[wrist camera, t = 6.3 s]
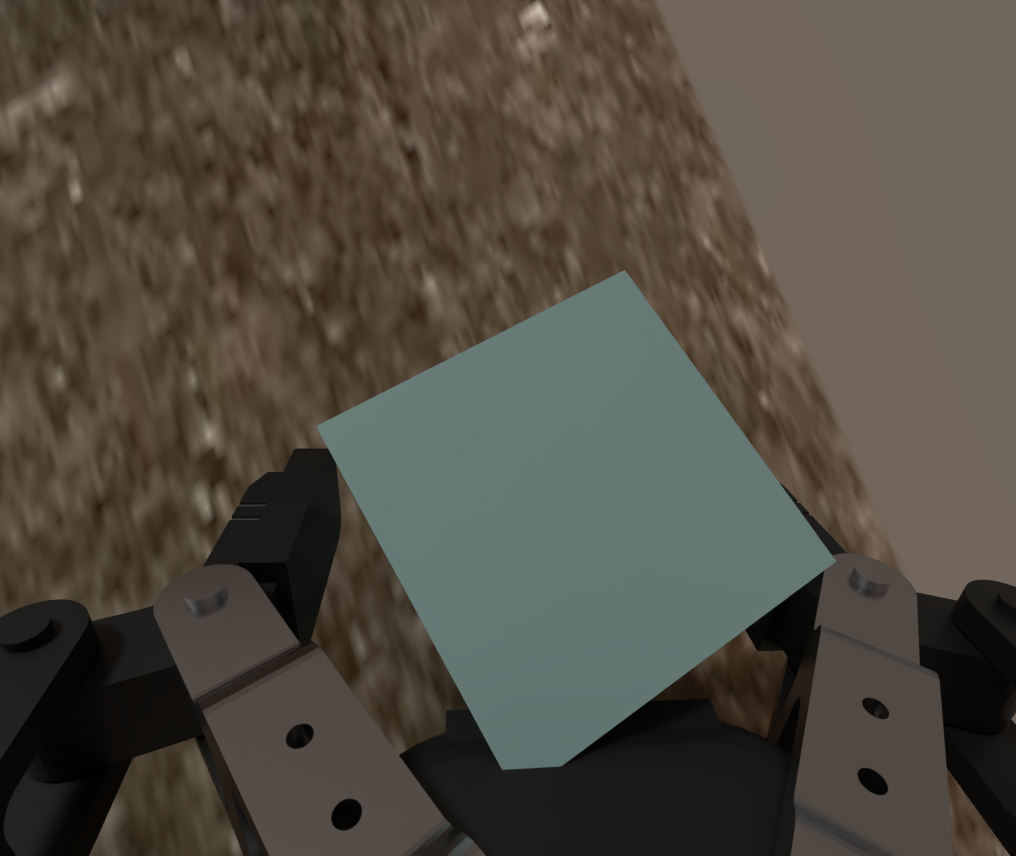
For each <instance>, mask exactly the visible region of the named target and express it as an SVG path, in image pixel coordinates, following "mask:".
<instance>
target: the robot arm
mask: <svg viewBox="0 0 1016 856" xmlns="http://www.w3.org/2000/svg"><path fill="white" fill-rule="evenodd" d="M780 485H781V486H782V487H783V489H784V490H785V491H786V493H787V494H788V496H789V497H790V498H791V500H792V501H793V502H794V504H795V505H796V507H797V508H798V509H799V511H800V512H801V513H802V515H803V516H804V518H805V519H806V520H807V522H808V523H809V524H810V526H811V527H812V529H813V530H814V531H815V533H816V534H817V535H818V537H819V538H820V540H821V541H822V542H823V544H824V545H825V546H826V548H827V549H828V551H829V552H830V553H831V555H832V556H833V557H834V559H835V560H836V562H835V563H834V564H832V565H831V566H829V567H828V568H827V569H825V570H824V571H823V572H821V573H820V574H819V575H817V576H816V577H815V578H813V579H812V580H811V581H809V582H808V583H807V584H805V585H804V586H803V587H801V588H800V589H799V590H797V591H796V592H795V593H793V594H792V595H791V596H789V597H788V598H787V599H785V600H784V601H783V602H781V603H780V604H778V605H777V606H776V607H774V608H773V609H772V610H770V611H769V612H768V613H766V614H765V615H764V616H762V617H761V618H760V619H758V620H757V621H756V622H754V623H753V624H752V625H750V626H749V627H748V628H746V629H745V630H746V632H747V634H748V635H749V637H750V639H751V641H752V642H753V644H754V646H755V647H756V649H757V651H778V650H783V651H784V652H785V654H786V655H787V659H786V662H785V664H784V667H783V669H782V673H781V677H780V682H779V686H778V691H777V695H776V699H775V704H774V708H773V713H772V717H771V721H770V726H769V730H768V735H767V739H765V738H764V737H762V736H760V735H758V734H755V733H753V732H751V731H748V730H746V729H743V728H741V727H737V726H734V725H731V724H728V723H724V722H720V721H719V720H718V717H717V715H716V713H715V711H714V709H713V706H712V704H711V702H710V700H709V699H691V700H669V701H648V702H647V703H646V704H644V705H643V706H642V707H640V708H639V709H638V710H636V711H635V712H634V713H632V714H631V715H630V716H628V717H627V718H625V719H624V720H623V721H621V722H620V723H619V724H617V725H616V726H615V727H613V728H612V729H611V730H609V731H608V732H607V733H605V734H604V735H603V736H601V737H600V738H599V739H597V740H596V741H595V742H593V743H592V744H591V745H589V746H588V747H587V748H585V749H584V750H583V751H581V752H580V753H579V754H577V755H576V756H574V757H573V758H572V759H570V760H569V761H568V762H566V763H565V764H564V765H562V766H560V767H542V768H525V769H507V770H502V769H501V767H500V765H499V763H498V761H497V760H496V758H495V756H494V754H493V752H492V750H491V748H490V747H489V745H488V743H487V741H486V739H485V737H484V735H483V734H482V732H481V730H480V728H479V726H478V724H477V723H476V721H475V719H474V717H473V715H472V713H471V711H470V710H469V709H468V710H447V712H446V733H444V734H441V735H438V736H435V737H432V738H430V739H427V740H425V741H423V742H421V743H419V744H417V745H415V746H413V747H412V748H410V749H408V750H407V751H405V752H403V753H402V754H400V755H398V754H397V752H396V751H395V750H394V748H393V747H392V745H391V744H390V743H389V741H388V740H387V739H386V737H385V736H384V734H383V733H382V732H381V730H380V729H379V728H378V726H377V725H376V724H375V722H374V721H373V719H372V718H371V717H370V715H369V714H368V713H367V711H366V710H365V709H364V707H363V706H362V704H361V703H360V702H359V700H358V699H357V698H356V696H355V695H354V693H353V692H352V691H351V689H350V688H349V687H348V685H347V684H346V683H345V681H344V680H343V678H342V677H341V676H340V674H339V673H338V672H337V670H336V669H335V667H334V666H333V665H332V663H331V662H330V661H329V659H328V658H327V657H326V655H325V654H324V652H323V651H322V650H321V649H320V647H319V646H318V645H317V644H316V643H314V642H313V641H311V637H312V634H313V630H314V627H315V623H316V619H317V616H318V612H319V609H320V605H321V601H322V598H323V594H324V591H325V587H326V584H327V580H328V576H329V573H330V569H331V566H332V562H333V558H334V555H335V551H336V548H337V544H338V540H339V536H340V528H341V507H340V498H339V488H338V478H337V469H336V462H335V460H334V458H333V456H332V455H331V453H330V451H329V449H295V450H294V451H293V453H292V455H291V457H290V459H289V461H288V463H287V465H286V467H285V469H284V471H283V472H267V473H266V474H265V475H263V476H262V477H261V478H259V479H258V480H257V481H255V482H254V483H253V484H252V485H250V486H249V487H248V489H247V491H246V493H245V494H244V496H243V498H242V500H241V501H240V506H238V507H237V508H236V510H235V512H234V514H233V515H232V520H229V522H228V524H227V526H226V527H225V529H224V531H223V533H222V534H221V536H220V538H219V540H218V541H217V543H216V545H215V547H214V548H213V550H212V552H211V554H210V555H209V557H208V559H207V561H206V562H205V564H204V566H203V567H201V568H198V569H195V570H192V571H190V572H188V573H186V574H183V575H182V576H180V577H178V578H177V579H175V580H174V581H172V582H171V583H170V584H168V585H167V586H166V587H165V588H164V589H163V590H162V591H161V593H160V594H159V595H158V597H157V599H156V601H155V604H154V605H153V606H150V607H147V608H144V609H140V610H137V611H132V612H128V613H124V614H120V615H116V616H112V617H108V618H104V619H99V620H95V621H91V618H90V616H89V613H88V611H87V609H86V608H85V607H84V606H83V605H82V604H80V603H78V602H75V601H72V600H48V601H43V602H38V603H34V604H31V605H27V606H24V607H22V608H19V609H17V610H14V611H12V612H10V613H8V614H6V615H4V616H2V617H0V856H89V855H90V853H91V850H92V848H93V846H94V844H95V841H96V839H97V837H98V835H99V832H100V830H101V828H102V826H103V824H104V821H105V819H106V817H107V815H108V812H109V810H110V808H111V806H112V803H113V801H114V799H115V797H116V794H117V792H118V790H119V788H120V785H121V783H122V781H123V779H124V776H125V774H126V772H127V770H128V767H129V765H130V763H131V761H132V759H133V758H134V757H137V756H140V755H143V754H146V753H149V752H152V751H155V750H158V749H161V748H164V747H167V746H170V745H173V744H176V743H179V742H182V741H185V740H188V739H191V738H195V741H196V743H197V745H198V748H199V750H200V752H201V755H202V757H203V759H204V762H205V764H206V766H207V769H208V771H209V773H210V776H211V778H212V780H213V783H214V785H215V787H216V789H217V792H218V794H219V796H220V799H221V801H222V803H223V806H224V808H225V810H226V813H227V815H228V817H229V820H230V822H231V824H232V827H233V829H234V832H235V834H236V837H237V839H238V842H239V845H240V847H241V850H242V853H243V856H954V855H953V842H952V830H951V817H950V805H949V792H948V780H947V769H948V770H949V771H950V773H951V774H952V776H953V777H954V778H955V780H956V781H957V783H958V784H959V785H960V787H961V788H962V790H963V791H964V792H965V794H966V795H967V796H968V798H969V799H970V801H971V802H972V803H973V805H974V806H975V808H976V809H977V810H978V812H979V813H980V814H981V816H982V817H983V819H984V820H985V821H986V823H987V824H988V826H989V827H990V828H991V830H992V831H993V833H994V834H995V835H996V837H997V838H998V839H999V841H1000V842H1001V844H1002V845H1003V846H1004V848H1005V849H1006V851H1007V852H1008V853H1009V855H1010V856H1016V724H1015V723H1014V722H1013V721H1012V720H1011V719H1012V717H1013V716H1014V715H1015V713H1016V587H1014V586H1011V585H1008V584H1005V583H1001V582H997V581H991V580H976V581H972V582H970V583H968V584H967V585H966V587H965V589H964V590H963V592H962V594H961V596H960V598H959V599H958V601H956V600H951V599H946V598H941V597H936V596H932V595H927V594H922V593H917V592H916V591H915V589H914V587H913V586H912V585H911V583H910V582H909V581H908V580H907V579H906V578H905V577H904V576H903V575H901V574H900V573H899V572H897V571H896V570H895V569H893V568H891V567H890V566H888V565H886V564H884V563H882V562H880V561H877V560H875V559H872V558H869V557H866V556H862V555H858V554H850V553H846V552H845V551H844V549H843V548H842V547H841V546H840V545H839V544H838V543H837V542H836V541H835V540H834V539H833V538H832V537H831V536H830V535H829V533H828V532H827V531H826V530H825V529H824V528H823V527H822V526H821V525H820V524H819V523H818V522H817V521H816V520H815V519H814V517H813V516H809V512H808V511H807V510H806V509H805V508H804V507H803V506H802V505H801V504H800V503H797V499H796V498H795V497H794V496H793V495H792V494H791V493H790V492H789V491H788V490H787V489H786V488H785V487H784V486H783V485H782V484H780Z"/></svg>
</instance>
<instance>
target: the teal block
mask: <svg viewBox="0 0 1016 856" xmlns="http://www.w3.org/2000/svg"><path fill="white" fill-rule="evenodd" d="M316 427H317V429H318V431H319V432H320V434H321V436H322V438H323V440H324V442H325V443H326V445H327V447H328V449H329V451H330V453H331V455H332V456H333V458H334V460H335V462H336V464H337V466H338V468H339V469H340V471H341V473H342V475H343V477H344V479H345V480H346V482H347V484H348V486H349V488H350V490H351V492H352V493H353V495H354V497H355V499H356V501H357V503H358V504H359V506H360V508H361V510H362V512H363V514H364V516H365V517H366V519H367V521H368V523H369V525H370V527H371V528H372V530H373V532H374V534H375V536H376V538H377V540H378V541H379V543H380V545H381V547H382V549H383V551H384V553H385V554H386V556H387V558H388V560H389V562H390V564H391V565H392V567H393V569H394V571H395V573H396V575H397V577H398V578H399V580H400V582H401V584H402V586H403V588H404V589H405V591H406V593H407V595H408V597H409V599H410V601H411V602H412V604H413V606H414V608H415V610H416V612H417V614H418V615H419V617H420V619H421V621H422V623H423V625H424V626H425V628H426V630H427V632H428V634H429V636H430V638H431V639H432V641H433V643H434V645H435V647H436V649H437V650H438V652H439V654H440V656H441V658H442V660H443V662H444V663H445V665H446V667H447V669H448V671H449V673H450V675H451V676H452V678H453V680H454V682H455V684H456V686H457V687H458V689H459V691H460V693H461V695H462V697H463V699H464V700H465V702H466V704H467V706H468V708H469V710H470V711H471V713H472V715H473V717H474V719H475V721H476V723H477V724H478V726H479V728H480V730H481V732H482V734H483V735H484V737H485V739H486V741H487V743H488V745H489V747H490V748H491V750H492V752H493V754H494V756H495V758H496V760H497V761H498V763H499V765H500V767H501V769H502V770H507V769H525V768H542V767H560V766H562V765H564V764H565V763H566V762H568V761H569V760H570V759H572V758H573V757H574V756H576V755H577V754H579V753H580V752H581V751H583V750H584V749H585V748H587V747H588V746H589V745H591V744H592V743H593V742H595V741H596V740H597V739H599V738H600V737H601V736H603V735H604V734H605V733H607V732H608V731H609V730H611V729H612V728H613V727H615V726H616V725H617V724H619V723H620V722H621V721H623V720H624V719H625V718H627V717H628V716H630V715H631V714H632V713H634V712H635V711H636V710H638V709H639V708H640V707H642V706H643V705H644V704H646V703H647V702H648V701H650V700H651V699H652V698H654V697H655V696H656V695H658V694H659V693H660V692H662V691H663V690H664V689H666V688H667V687H668V686H670V685H671V684H672V683H674V682H675V681H676V680H678V679H679V678H681V677H682V676H683V675H685V674H686V673H687V672H689V671H690V670H691V669H693V668H694V667H695V666H697V665H698V664H699V663H701V662H702V661H703V660H705V659H706V658H707V657H709V656H710V655H711V654H713V653H714V652H715V651H717V650H718V649H719V648H721V647H722V646H723V645H725V644H726V643H727V642H729V641H730V640H732V639H733V638H734V637H736V636H737V635H738V634H740V633H741V632H742V631H744V630H745V629H746V628H748V627H749V626H750V625H752V624H753V623H754V622H756V621H757V620H758V619H760V618H761V617H762V616H764V615H765V614H766V613H768V612H769V611H770V610H772V609H773V608H774V607H776V606H777V605H778V604H780V603H781V602H783V601H784V600H785V599H787V598H788V597H789V596H791V595H792V594H793V593H795V592H796V591H797V590H799V589H800V588H801V587H803V586H804V585H805V584H807V583H808V582H809V581H811V580H812V579H813V578H815V577H816V576H817V575H819V574H820V573H821V572H823V571H824V570H825V569H827V568H828V567H829V566H831V565H832V564H834V563H835V562H836V560H835V559H834V557H833V556H832V555H831V553H830V552H829V551H828V549H827V548H826V546H825V545H824V544H823V542H822V541H821V540H820V538H819V537H818V535H817V534H816V533H815V531H814V530H813V529H812V527H811V526H810V524H809V523H808V522H807V520H806V519H805V518H804V516H803V515H802V513H801V512H800V511H799V509H798V508H797V507H796V505H795V504H794V502H793V501H792V500H791V498H790V497H789V496H788V494H787V493H786V491H785V490H784V489H783V487H782V486H781V485H780V483H779V482H778V480H777V479H776V478H775V476H774V475H773V474H772V472H771V471H770V469H769V468H768V467H767V465H766V464H765V463H764V461H763V460H762V458H761V457H760V456H759V454H758V453H757V451H756V450H755V449H754V447H753V446H752V445H751V443H750V442H749V440H748V439H747V438H746V436H745V435H744V434H743V432H742V431H741V429H740V428H739V427H738V425H737V424H736V423H735V421H734V420H733V418H732V417H731V416H730V414H729V413H728V412H727V410H726V409H725V407H724V406H723V405H722V403H721V402H720V401H719V399H718V398H717V396H716V395H715V394H714V392H713V391H712V390H711V388H710V387H709V385H708V384H707V383H706V381H705V380H704V379H703V377H702V376H701V374H700V373H699V372H698V370H697V369H696V368H695V366H694V365H693V363H692V362H691V361H690V359H689V358H688V357H687V355H686V354H685V352H684V351H683V350H682V348H681V347H680V345H679V344H678V343H677V341H676V340H675V339H674V337H673V336H672V334H671V333H670V332H669V330H668V329H667V328H666V326H665V325H664V323H663V322H662V321H661V319H660V318H659V317H658V315H657V314H656V312H655V311H654V310H653V308H652V307H651V306H650V304H649V303H648V301H647V300H646V299H645V297H644V296H643V295H642V293H641V292H640V290H639V289H638V288H637V286H636V285H635V284H634V282H633V281H632V279H631V278H630V277H629V275H628V274H627V273H626V271H625V270H624V271H622V272H620V273H618V274H616V275H614V276H612V277H610V278H608V279H606V280H604V281H602V282H600V283H598V284H596V285H594V286H592V287H590V288H588V289H586V290H584V291H582V292H580V293H578V294H576V295H574V296H572V297H570V298H568V299H566V300H564V301H563V302H561V303H559V304H557V305H555V306H553V307H551V308H549V309H547V310H545V311H543V312H541V313H539V314H537V315H535V316H533V317H531V318H529V319H527V320H525V321H523V322H521V323H519V324H517V325H515V326H513V327H511V328H509V329H507V330H505V331H503V332H501V333H499V334H497V335H495V336H493V337H491V338H489V339H488V340H486V341H484V342H482V343H480V344H478V345H476V346H474V347H472V348H470V349H468V350H466V351H464V352H462V353H460V354H458V355H456V356H454V357H452V358H450V359H448V360H446V361H444V362H442V363H440V364H438V365H436V366H434V367H432V368H430V369H428V370H426V371H424V372H422V373H420V374H418V375H416V376H415V377H413V378H411V379H409V380H407V381H405V382H403V383H401V384H399V385H397V386H395V387H393V388H391V389H389V390H387V391H385V392H383V393H381V394H379V395H377V396H375V397H373V398H371V399H369V400H367V401H365V402H363V403H361V404H359V405H357V406H355V407H353V408H351V409H349V410H347V411H345V412H343V413H341V414H340V415H338V416H336V417H334V418H332V419H330V420H328V421H326V422H324V423H322V424H320V425H318V426H316Z"/></svg>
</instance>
